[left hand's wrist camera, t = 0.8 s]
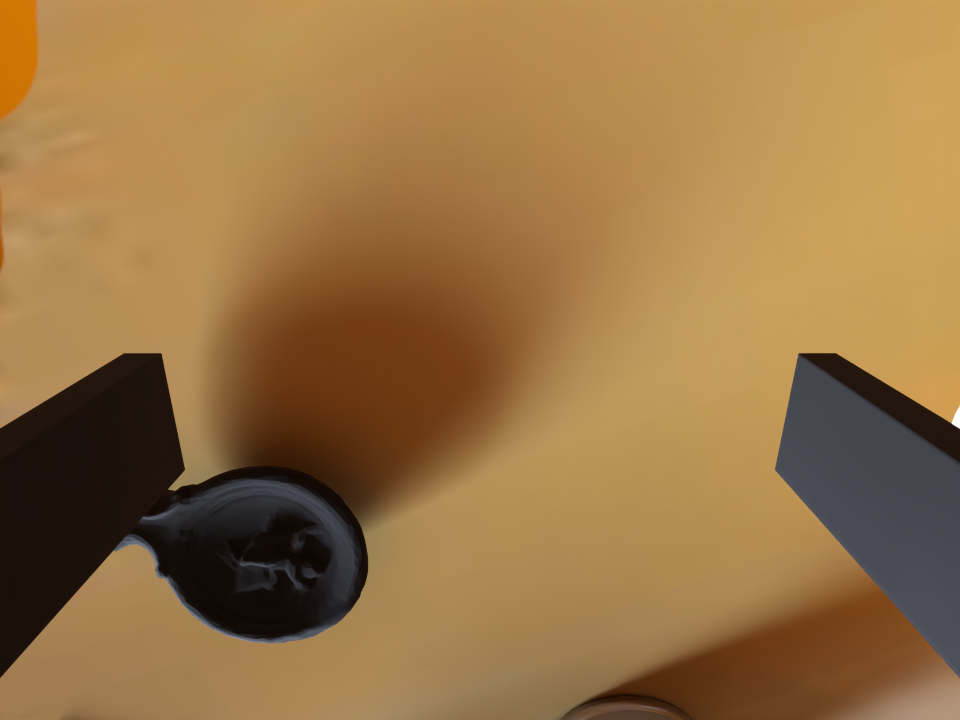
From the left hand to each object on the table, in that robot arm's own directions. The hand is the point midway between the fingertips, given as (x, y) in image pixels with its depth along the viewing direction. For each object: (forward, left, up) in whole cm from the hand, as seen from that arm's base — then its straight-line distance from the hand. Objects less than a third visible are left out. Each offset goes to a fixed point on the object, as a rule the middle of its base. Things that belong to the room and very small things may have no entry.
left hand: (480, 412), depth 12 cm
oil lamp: (-22, +18, -28) cm, 40 cm away
